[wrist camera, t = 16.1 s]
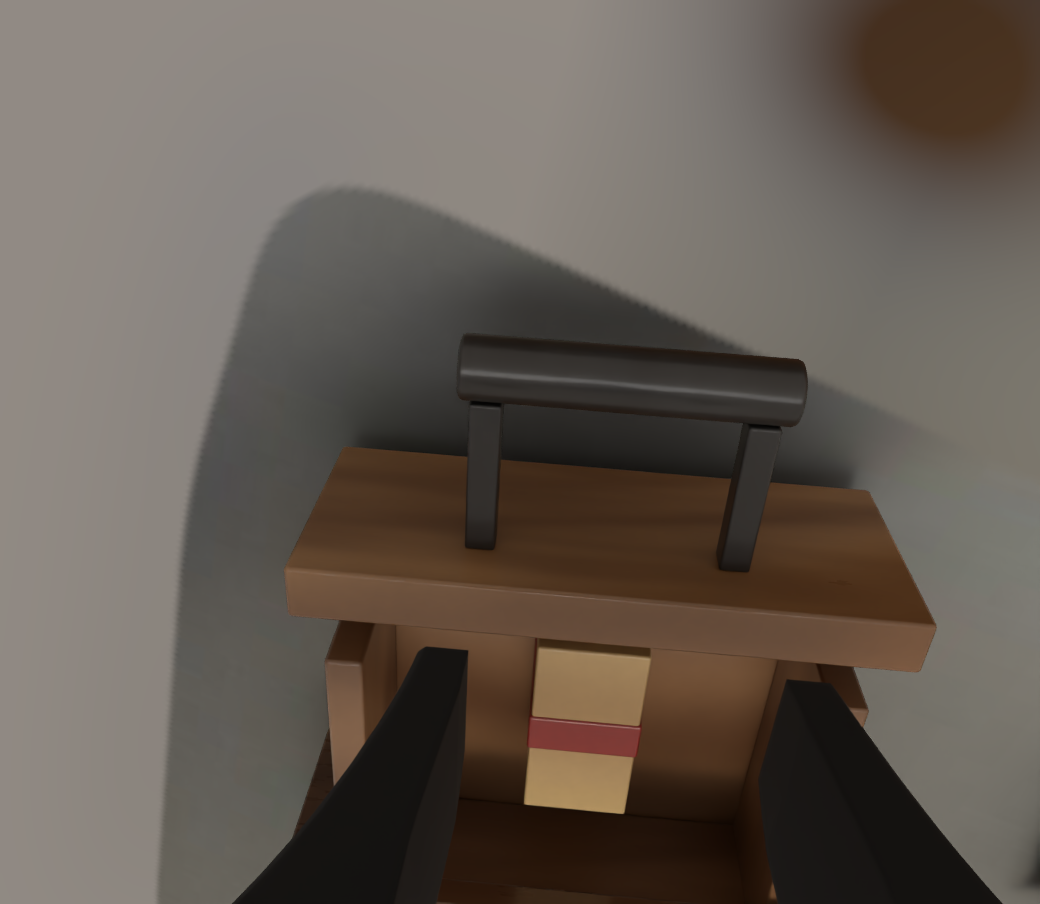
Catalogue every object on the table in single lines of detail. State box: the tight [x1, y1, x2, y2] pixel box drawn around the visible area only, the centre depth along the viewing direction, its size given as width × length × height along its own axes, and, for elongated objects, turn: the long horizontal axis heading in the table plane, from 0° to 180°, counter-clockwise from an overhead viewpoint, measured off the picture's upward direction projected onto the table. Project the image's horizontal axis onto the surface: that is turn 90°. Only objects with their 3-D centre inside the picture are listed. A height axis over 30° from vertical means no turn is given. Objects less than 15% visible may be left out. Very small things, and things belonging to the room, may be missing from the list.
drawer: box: [284, 333, 937, 904], centre depth 20 cm, size 16×12×5 cm
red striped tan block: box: [524, 638, 652, 814], centre depth 21 cm, size 5×2×3 cm, turn 177°
